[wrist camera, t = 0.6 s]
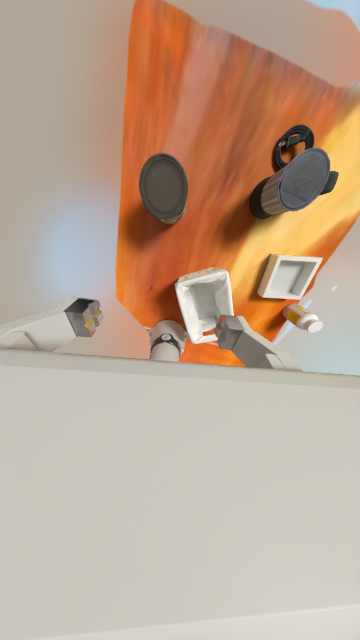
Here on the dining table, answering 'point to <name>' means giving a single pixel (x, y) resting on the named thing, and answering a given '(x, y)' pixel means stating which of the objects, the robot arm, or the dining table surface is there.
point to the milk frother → (294, 177)
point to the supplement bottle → (302, 318)
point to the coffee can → (164, 187)
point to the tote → (287, 276)
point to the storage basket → (204, 301)
